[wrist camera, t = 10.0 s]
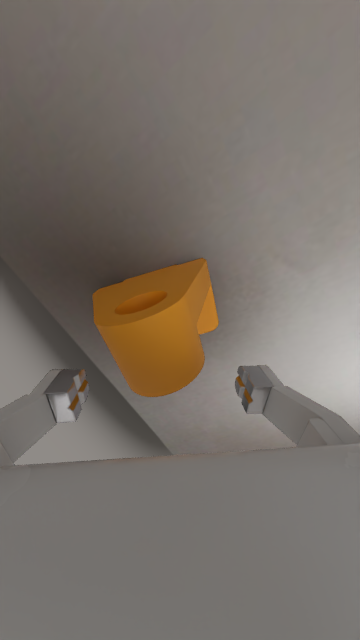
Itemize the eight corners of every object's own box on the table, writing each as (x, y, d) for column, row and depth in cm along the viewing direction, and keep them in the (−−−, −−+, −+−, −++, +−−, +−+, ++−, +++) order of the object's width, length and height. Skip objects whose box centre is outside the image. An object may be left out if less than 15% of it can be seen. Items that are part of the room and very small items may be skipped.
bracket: (128, 342, 22) (95, 446, 11) (101, 286, 19) (20, 355, 8) (213, 318, 22) (265, 400, 11) (200, 256, 19) (254, 286, 8)
